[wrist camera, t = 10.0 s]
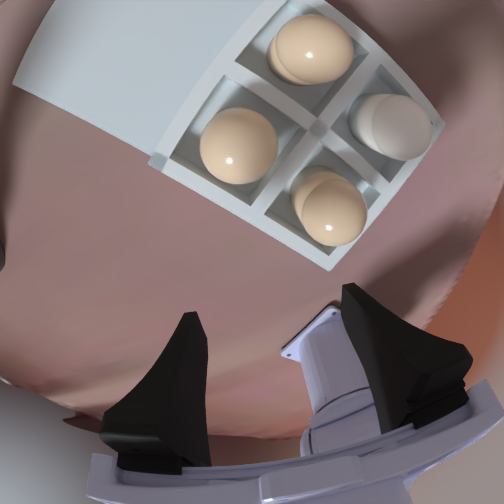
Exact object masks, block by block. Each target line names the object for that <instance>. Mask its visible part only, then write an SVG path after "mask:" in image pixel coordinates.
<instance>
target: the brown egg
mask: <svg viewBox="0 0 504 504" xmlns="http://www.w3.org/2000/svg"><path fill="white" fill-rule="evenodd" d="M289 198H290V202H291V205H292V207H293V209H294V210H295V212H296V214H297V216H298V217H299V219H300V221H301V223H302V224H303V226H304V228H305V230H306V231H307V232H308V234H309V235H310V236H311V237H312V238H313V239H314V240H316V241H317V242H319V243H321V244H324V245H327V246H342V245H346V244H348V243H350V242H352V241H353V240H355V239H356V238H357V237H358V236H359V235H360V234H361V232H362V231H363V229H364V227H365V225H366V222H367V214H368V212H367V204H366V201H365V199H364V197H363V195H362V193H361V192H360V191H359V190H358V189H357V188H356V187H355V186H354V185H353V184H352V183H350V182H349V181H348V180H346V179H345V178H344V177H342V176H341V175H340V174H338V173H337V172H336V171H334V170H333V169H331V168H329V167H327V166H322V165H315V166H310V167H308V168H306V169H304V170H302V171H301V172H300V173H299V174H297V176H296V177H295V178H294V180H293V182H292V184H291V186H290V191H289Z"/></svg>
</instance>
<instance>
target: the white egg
mask: <svg viewBox="0 0 504 504" xmlns="http://www.w3.org/2000/svg"><path fill="white" fill-rule="evenodd" d="M348 126H349V129H350V132H351V134H352V136H353V137H354V138H355V140H356V141H357V142H358V143H360V144H361V145H363V146H365V147H367V148H370V149H372V150H374V151H377V152H379V153H381V154H383V155H386V156H388V157H390V158H392V159H396V160H402V161H407V160H412V159H415V158H417V157H419V156H420V155H422V154H423V153H424V152H425V151H426V150H427V148H428V147H429V145H430V142H431V138H432V124H431V121H430V118H429V116H428V114H427V112H426V111H425V109H424V108H423V107H422V106H421V105H420V104H419V103H418V102H416V101H415V100H413V99H411V98H409V97H407V96H403V95H395V94H379V93H367V94H363V95H361V96H359V97H358V98H357V99H355V100H354V102H353V103H352V105H351V106H350V109H349V112H348Z"/></svg>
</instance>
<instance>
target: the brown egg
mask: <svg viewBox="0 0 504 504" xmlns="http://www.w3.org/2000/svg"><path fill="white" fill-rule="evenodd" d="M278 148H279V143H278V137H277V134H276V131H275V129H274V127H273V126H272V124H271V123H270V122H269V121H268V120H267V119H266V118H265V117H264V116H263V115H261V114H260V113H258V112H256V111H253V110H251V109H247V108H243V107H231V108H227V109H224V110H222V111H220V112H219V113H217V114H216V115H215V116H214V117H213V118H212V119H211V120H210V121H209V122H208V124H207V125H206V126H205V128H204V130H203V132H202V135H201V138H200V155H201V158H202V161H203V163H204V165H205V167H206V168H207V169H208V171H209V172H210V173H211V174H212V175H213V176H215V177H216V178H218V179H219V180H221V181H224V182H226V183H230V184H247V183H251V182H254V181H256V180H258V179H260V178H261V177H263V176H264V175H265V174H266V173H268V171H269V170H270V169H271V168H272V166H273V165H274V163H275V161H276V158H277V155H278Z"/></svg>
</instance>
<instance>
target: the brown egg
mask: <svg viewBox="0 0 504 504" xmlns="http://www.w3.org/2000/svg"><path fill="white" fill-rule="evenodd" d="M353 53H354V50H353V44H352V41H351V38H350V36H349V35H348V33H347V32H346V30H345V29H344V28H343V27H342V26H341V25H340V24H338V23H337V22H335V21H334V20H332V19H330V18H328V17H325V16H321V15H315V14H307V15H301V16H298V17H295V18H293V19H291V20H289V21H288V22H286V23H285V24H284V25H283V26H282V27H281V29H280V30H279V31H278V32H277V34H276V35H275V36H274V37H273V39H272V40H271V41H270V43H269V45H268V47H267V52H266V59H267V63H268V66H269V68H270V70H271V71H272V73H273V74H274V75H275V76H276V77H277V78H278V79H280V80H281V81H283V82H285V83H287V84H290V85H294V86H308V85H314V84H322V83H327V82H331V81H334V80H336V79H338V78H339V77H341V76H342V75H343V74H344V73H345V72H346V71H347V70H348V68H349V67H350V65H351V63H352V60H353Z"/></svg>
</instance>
